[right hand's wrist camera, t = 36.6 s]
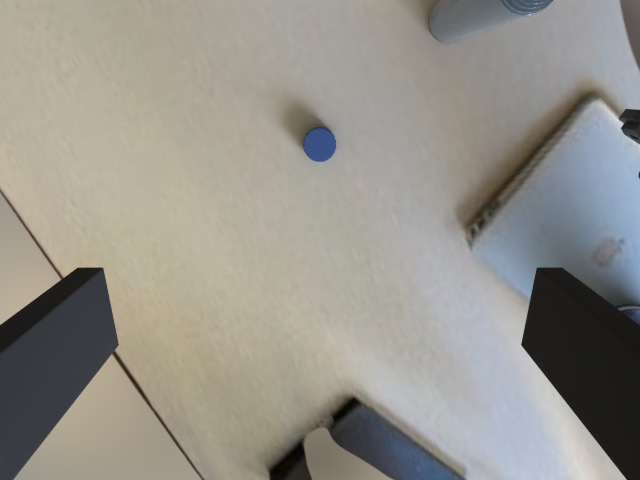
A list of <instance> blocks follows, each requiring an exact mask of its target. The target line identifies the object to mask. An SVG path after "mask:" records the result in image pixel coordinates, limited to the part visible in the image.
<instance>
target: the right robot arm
mask: <svg viewBox="0 0 640 480" xmlns="http://www.w3.org/2000/svg"><path fill="white" fill-rule="evenodd" d="M118 345H119V344H118V339H117V334H116V329H115V324H114V319H113V314H112V309H111V304H110V299H109V294H108V289H107V284H106V279H105V274H104V269H103V268H77V269H75V270H74V271H73V272H71V273H70V274H69V275H67V276H66V277H65V278H63V279H62V280H61V281H59V282H58V283H57V284H55V285H54V286H52V287H51V288H50V289H48V290H47V291H46V292H44V293H43V294H42V295H40V296H39V297H38V298H36V299H35V300H34V301H32V302H31V303H30V304H28V305H27V306H26V307H24V308H23V309H21V310H20V311H19V312H17V313H16V314H15V315H13V316H12V317H11V318H9V319H8V320H7V321H5V322H4V323H3V324H1V325H0V480H13V479H14V478H15V477H16V475H17V474H18V473H19V472H20V470H21V469H22V468H23V466H24V465H25V464H26V463H27V461H28V460H29V459H30V458H31V456H32V455H33V454H34V452H35V451H36V450H37V449H38V447H39V446H40V445H41V443H42V442H43V441H44V440H45V438H46V437H47V436H48V435H49V433H50V432H51V431H52V429H53V428H54V427H55V426H56V424H57V423H58V422H59V421H60V419H61V418H62V417H63V415H64V414H65V413H66V412H67V410H68V409H69V408H70V407H71V405H72V404H73V403H74V401H75V400H76V399H77V397H78V396H79V395H80V394H81V392H82V391H83V390H84V389H85V387H86V386H87V385H88V384H89V382H90V381H91V380H92V378H93V377H94V376H95V375H96V373H97V372H98V371H99V369H100V368H101V367H102V366H103V364H104V363H105V362H106V361H107V359H108V358H109V357H110V355H111V354H112V353H113V352H114V350H115V349H116V348H117V347H118ZM521 345H522V347H523V348H524V349H525V350H526V352H527V353H528V354H529V355H530V357H531V358H532V359H533V361H534V362H535V363H536V364H537V366H538V367H539V368H540V369H541V371H542V372H543V373H544V375H545V376H546V377H547V378H548V380H549V381H550V382H551V384H552V385H553V386H554V387H555V389H556V390H557V391H558V392H559V394H560V395H561V396H562V398H563V399H564V400H565V401H566V403H567V404H568V405H569V407H570V408H571V409H572V410H573V412H574V413H575V414H576V415H577V417H578V418H579V419H580V421H581V422H582V423H583V424H584V426H585V427H586V428H587V429H588V431H589V432H590V433H591V435H592V436H593V437H594V438H595V440H596V441H597V442H598V444H599V445H600V446H601V447H602V449H603V450H604V451H605V452H606V454H607V455H608V456H609V458H610V459H611V460H612V461H613V463H614V464H615V465H616V466H617V468H618V469H619V470H620V472H621V473H622V474H623V475H624V477H625V478H626V479H627V480H640V325H639V324H637V323H636V322H635V321H633V320H632V319H631V318H629V317H628V316H627V315H625V314H624V313H623V312H621V311H620V310H619V309H617V308H616V307H615V306H613V305H612V304H610V303H609V302H608V301H606V300H605V299H604V298H602V297H601V296H600V295H598V294H597V293H596V292H594V291H593V290H592V289H590V288H589V287H588V286H586V285H585V284H583V283H582V282H581V281H579V280H578V279H577V278H575V277H574V276H573V275H571V274H570V273H569V272H567V271H566V270H565V269H563V268H537V269H536V274H535V279H534V284H533V289H532V294H531V299H530V304H529V309H528V314H527V319H526V324H525V329H524V334H523V339H522V344H521Z"/></svg>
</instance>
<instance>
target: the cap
mask: <svg viewBox="0 0 640 480" xmlns="http://www.w3.org/2000/svg"><path fill="white" fill-rule="evenodd" d="M303 146H304V151H305V153H306V155H307V156H308V157H309V158H310V159H312V160H314V161H317V162H322V161H326V160H328V159H329V158H331V157H332V155H333V154H334V153H335V149H336V140H335V138H334V135H333V134H332V133H331V131H329V130H328V129H325V128H321V127H318V128H316V127H315V128H314V129H312V130H310V131H309V132H308V133H307V134H306V137H305V138H304V144H303Z"/></svg>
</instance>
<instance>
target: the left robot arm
mask: <svg viewBox="0 0 640 480" xmlns="http://www.w3.org/2000/svg"><path fill="white" fill-rule="evenodd" d="M619 120H620V121H622V122H623V123H624V125H623V126H622V127H621V129H622V131H623V133H624V134H625V135H626V136H628V137H629V138H631V139H632V140H634V141H635V142H637V143H638V144H640V110H633V109H625V111H624V112H623V113H622V115H621V116H620V117H619ZM639 178H640V172H639ZM617 309H619V310H620V311H621V312H623V313H624V314H625V315H627V316H628V317H629V318H631V319H632V320H633V321H635V322H636V323H637V324H639V325H640V307H639V306H634V305H626V306H620V307H617Z"/></svg>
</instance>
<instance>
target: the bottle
mask: <svg viewBox="0 0 640 480" xmlns="http://www.w3.org/2000/svg"><path fill="white" fill-rule="evenodd" d="M552 1H553V0H440V1H439V2H438V3H437V4H436V5H435V6H434V7H433V9H432V11H431V13H430V16H429V28H430V31H431V33H432V35H433V37H434V38H435V39H437V40H438V41H440V42H443V43H452V42H455V41H458V40H461V39H464V38H467V37H469V36H472V35H475V34H478V33H481V32H484V31H487V30H490V29H493V28H496V27H498V26H501V25H504V24H507V23H510V22H513V21H516V20H519V19H522V18H524V17H527V16H530V15H533V14H536V13H538V12H540V11H542V10H543V9H545V8H546V7H547V6H548V5H550V3H551V2H552Z"/></svg>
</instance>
